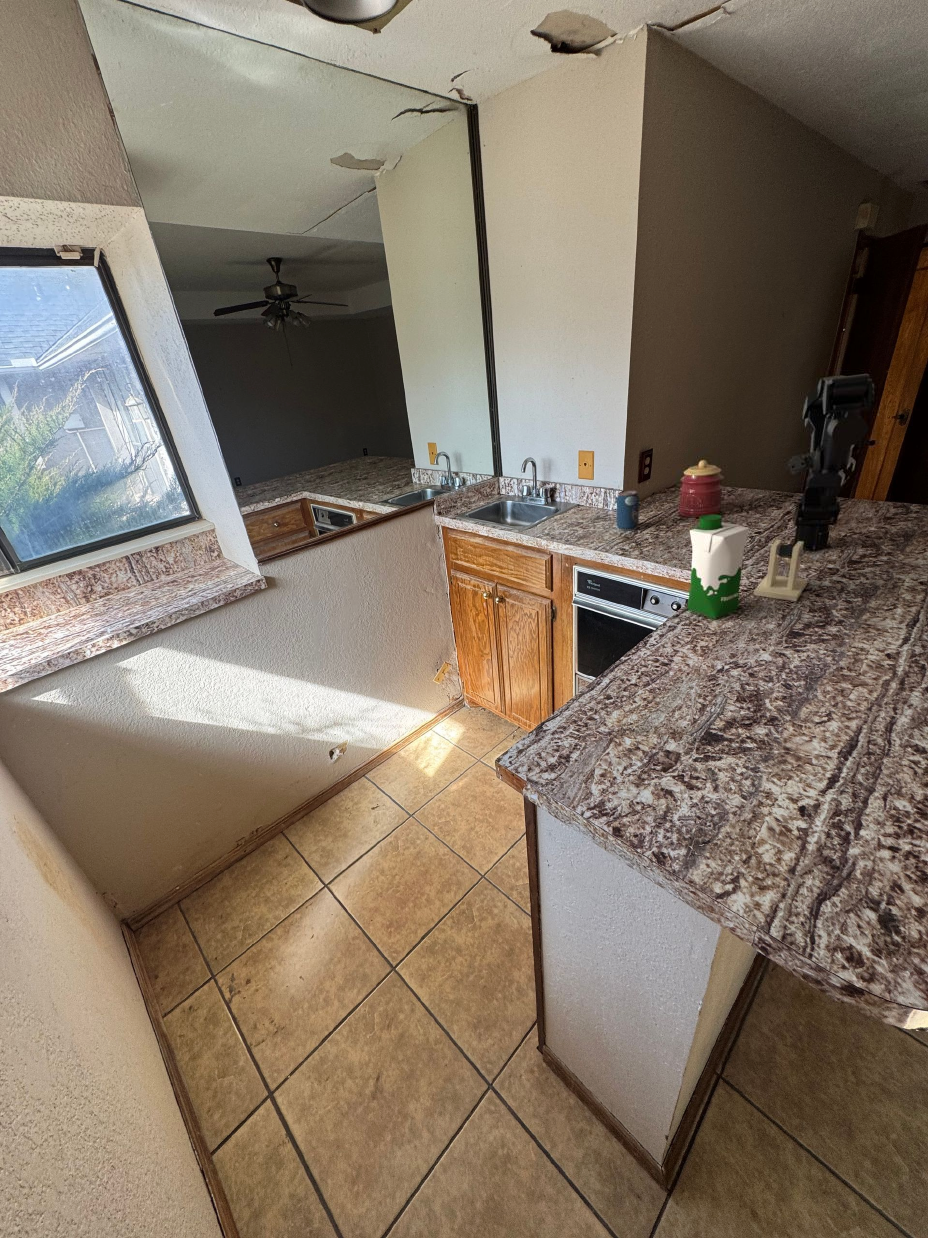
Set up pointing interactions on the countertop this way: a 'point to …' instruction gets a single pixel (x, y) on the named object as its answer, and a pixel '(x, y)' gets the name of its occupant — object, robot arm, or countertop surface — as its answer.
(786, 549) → the switch lever
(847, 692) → the countertop surface
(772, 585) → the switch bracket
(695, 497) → the kitchen canister
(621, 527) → the soda can
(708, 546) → the milk carton
